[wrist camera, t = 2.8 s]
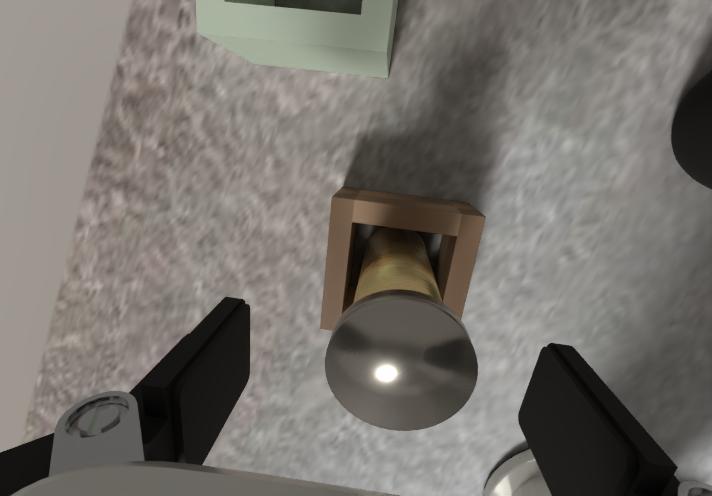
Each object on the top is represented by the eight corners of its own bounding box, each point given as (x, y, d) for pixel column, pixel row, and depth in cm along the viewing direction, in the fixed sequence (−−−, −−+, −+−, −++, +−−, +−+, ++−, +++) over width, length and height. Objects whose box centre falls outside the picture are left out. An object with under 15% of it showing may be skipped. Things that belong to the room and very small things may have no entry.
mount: (468, 203, 21) (485, 217, 17) (443, 315, 23) (453, 349, 20) (342, 186, 21) (332, 196, 18) (331, 298, 24) (320, 328, 20)
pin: (439, 223, 21) (494, 316, 10) (426, 293, 23) (459, 441, 12) (363, 212, 22) (331, 291, 10) (354, 282, 23) (319, 417, 12)
